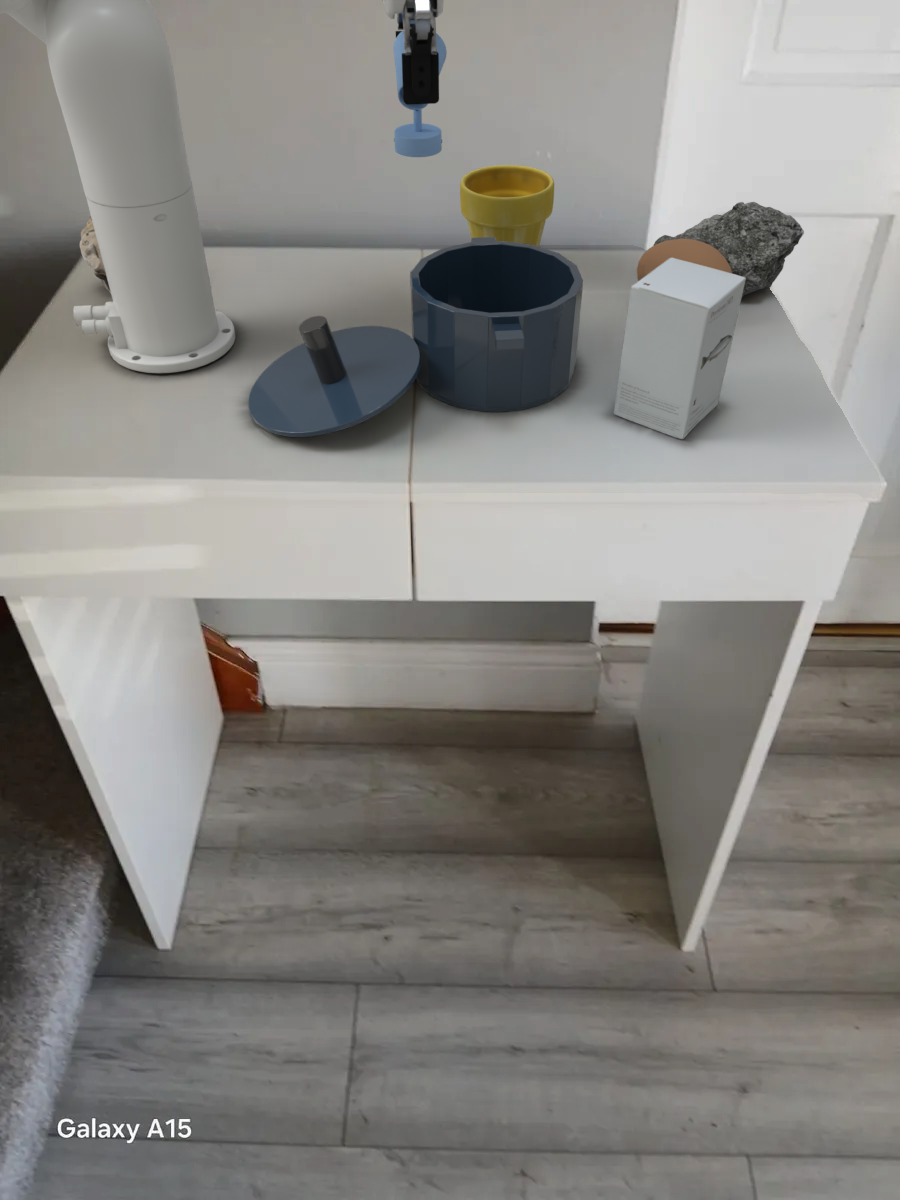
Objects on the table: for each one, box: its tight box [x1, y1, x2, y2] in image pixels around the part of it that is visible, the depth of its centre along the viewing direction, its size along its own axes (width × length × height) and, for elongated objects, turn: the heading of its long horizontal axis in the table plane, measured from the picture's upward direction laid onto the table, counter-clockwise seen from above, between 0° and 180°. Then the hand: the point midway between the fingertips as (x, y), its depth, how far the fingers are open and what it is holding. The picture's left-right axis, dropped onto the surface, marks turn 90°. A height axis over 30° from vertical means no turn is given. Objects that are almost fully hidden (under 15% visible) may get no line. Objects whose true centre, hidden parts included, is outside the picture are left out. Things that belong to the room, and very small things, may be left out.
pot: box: [409, 237, 584, 413], centre depth 91 cm, size 16×21×10 cm
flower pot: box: [459, 164, 555, 247], centre depth 108 cm, size 10×10×10 cm
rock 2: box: [652, 201, 805, 297], centre depth 107 cm, size 13×13×10 cm
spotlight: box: [393, 27, 448, 158], centre depth 90 cm, size 5×10×7 cm
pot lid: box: [247, 315, 421, 438], centre depth 87 cm, size 17×17×7 cm
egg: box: [636, 238, 732, 282], centre depth 101 cm, size 8×8×11 cm
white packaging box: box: [612, 258, 746, 440], centre depth 84 cm, size 7×7×13 cm
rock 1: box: [79, 215, 111, 294], centre depth 107 cm, size 9×7×10 cm
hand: (417, 88), depth 89 cm, fingers closed on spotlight, 7 cm apart
